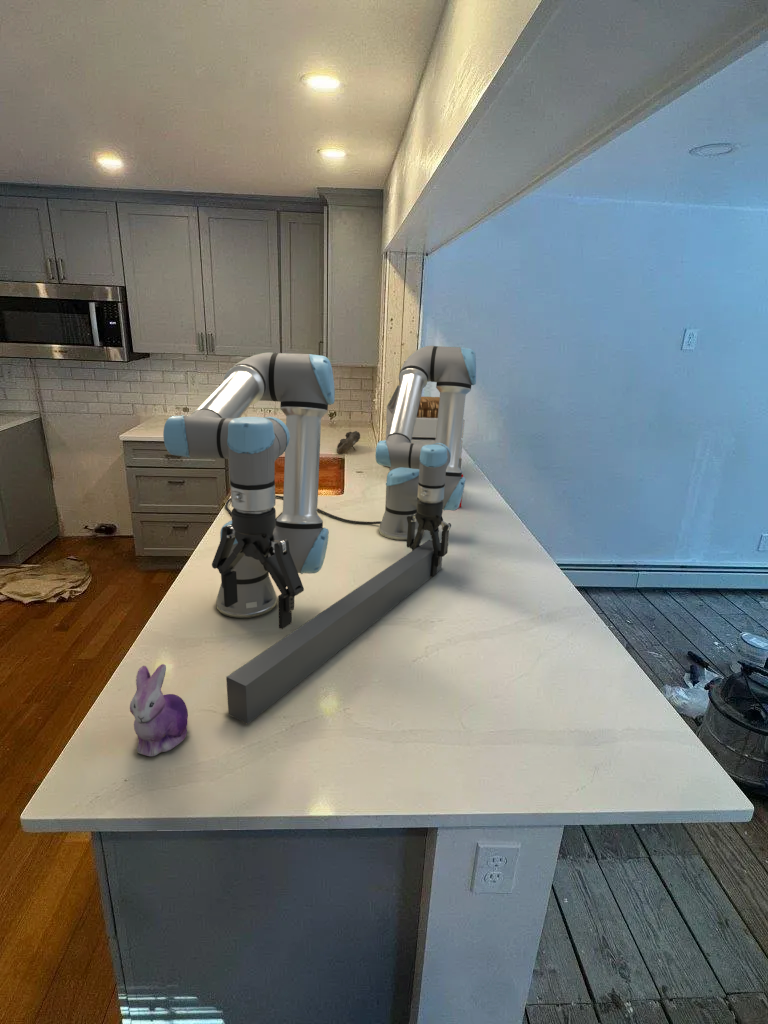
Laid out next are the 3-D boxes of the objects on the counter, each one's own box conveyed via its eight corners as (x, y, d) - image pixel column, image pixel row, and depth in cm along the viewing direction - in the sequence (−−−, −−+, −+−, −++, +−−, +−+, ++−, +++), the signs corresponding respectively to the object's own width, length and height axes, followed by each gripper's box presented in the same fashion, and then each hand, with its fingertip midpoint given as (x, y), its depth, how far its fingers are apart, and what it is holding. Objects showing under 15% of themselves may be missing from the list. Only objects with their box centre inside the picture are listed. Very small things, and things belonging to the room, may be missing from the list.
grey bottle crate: (382, 463, 289) (386, 382, 275) (445, 464, 293) (451, 384, 279) (390, 482, 257) (394, 392, 243) (460, 483, 261) (468, 394, 247)
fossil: (337, 437, 322) (357, 422, 317) (347, 450, 325) (368, 435, 320) (330, 450, 302) (352, 434, 297) (341, 464, 305) (363, 448, 300)
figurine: (137, 767, 96) (127, 693, 90) (132, 728, 104) (122, 659, 99) (195, 750, 100) (189, 678, 95) (185, 714, 108) (179, 646, 103)
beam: (427, 565, 176) (428, 539, 174) (441, 569, 174) (443, 543, 171) (228, 714, 109) (226, 676, 106) (247, 724, 107) (245, 686, 104)
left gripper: (187, 498, 102) (195, 603, 109) (295, 529, 90) (296, 644, 97) (218, 488, 108) (224, 588, 115) (323, 516, 96) (323, 626, 103)
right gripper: (396, 496, 164) (392, 569, 171) (453, 509, 155) (446, 585, 163) (409, 490, 170) (404, 561, 177) (464, 502, 161) (457, 576, 169)
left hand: (257, 614), depth 106 cm, fingers open, 13 cm apart
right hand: (425, 572), depth 170 cm, fingers closed on beam, 5 cm apart
